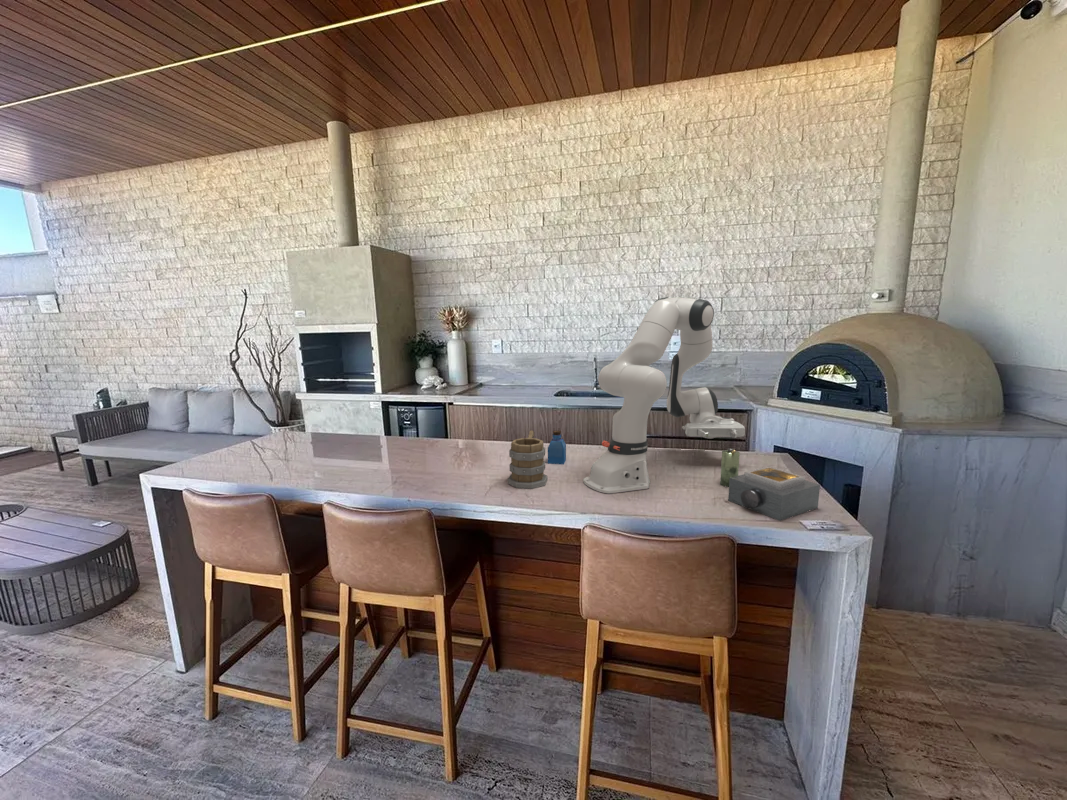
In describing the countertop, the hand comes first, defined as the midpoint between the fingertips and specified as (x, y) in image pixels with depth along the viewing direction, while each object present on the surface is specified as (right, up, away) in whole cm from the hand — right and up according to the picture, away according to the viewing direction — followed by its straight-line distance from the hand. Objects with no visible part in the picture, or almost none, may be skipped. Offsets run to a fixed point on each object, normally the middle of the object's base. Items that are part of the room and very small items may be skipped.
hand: (720, 435), depth 153 cm
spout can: (-2, -15, -10) cm, 18 cm away
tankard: (-67, -15, -2) cm, 68 cm away
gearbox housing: (+4, -18, -26) cm, 32 cm away
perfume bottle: (-56, -12, +16) cm, 60 cm away
